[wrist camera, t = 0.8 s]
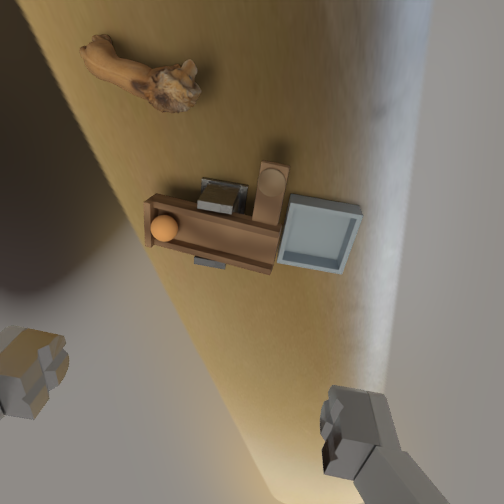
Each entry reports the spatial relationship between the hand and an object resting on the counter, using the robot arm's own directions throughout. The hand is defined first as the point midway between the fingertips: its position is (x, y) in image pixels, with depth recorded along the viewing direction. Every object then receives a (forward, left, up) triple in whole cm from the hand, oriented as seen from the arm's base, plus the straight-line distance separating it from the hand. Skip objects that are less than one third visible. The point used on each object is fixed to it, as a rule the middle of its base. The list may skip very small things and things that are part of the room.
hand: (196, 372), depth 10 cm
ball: (+12, -10, -28) cm, 32 cm away
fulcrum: (+12, -4, -34) cm, 36 cm away
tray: (+12, +9, -34) cm, 37 cm away
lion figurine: (-5, -14, -35) cm, 37 cm away
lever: (+8, -4, -29) cm, 31 cm away
